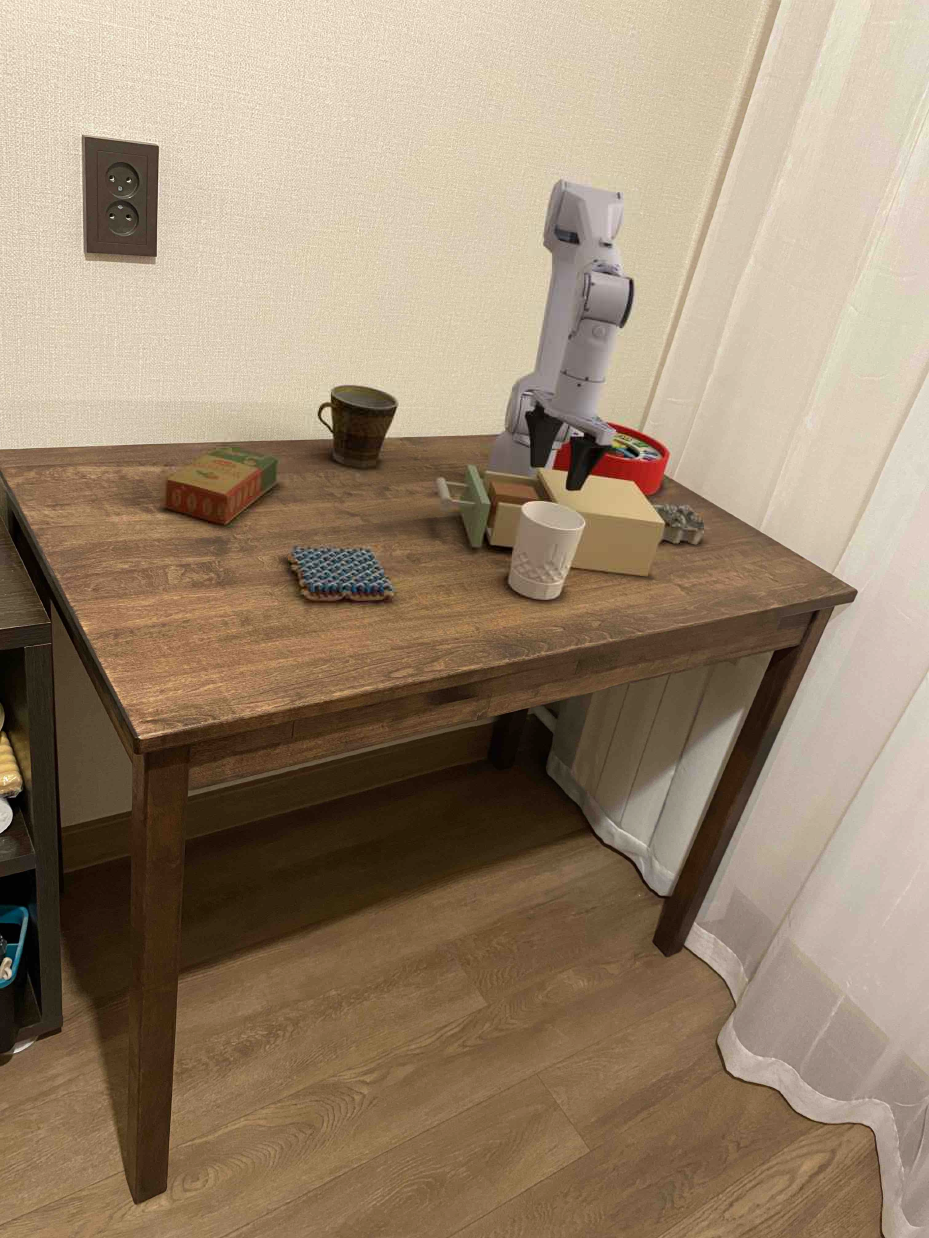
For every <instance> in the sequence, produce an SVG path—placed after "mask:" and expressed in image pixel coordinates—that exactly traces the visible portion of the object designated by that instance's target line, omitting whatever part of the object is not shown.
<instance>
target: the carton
mask: <svg viewBox="0 0 929 1238" xmlns="http://www.w3.org/2000/svg"><path fill="white" fill-rule="evenodd" d="M277 475H278V457H277V456H273V455H269V454H265V453H262V452H258V451H254V450H249V449H246V448H242V447H238V446H235V445H231V444H227V443H221V444H219V445H218V446H216V447H215V448H213V449H212V450H210V451H208V452H207V453H205V454H204V455H203V456H202V457H199V458H198V459H196V460H195V461H193V462H191V463H190V464H189V465H187V466H185V467H184V468H182V469H180V470H179V471H178V472H176V473H174V474H173V475H171V476H170V477H168V478H166V481H165V492H164V493H165V495H164V506H163V507H164V509H168V510H171V511H174V512H178V513H182V514H185V515H187V516H188V515H189V516H192V517H195V518H198V519H201V520H205V521H209V522H212V523H216V524H220V525H227V524H228V523H229V522H231V521H232V520H233V519H235V518H236V516H238V515H239V514H241V513H242V512H243V511H244V510H246V508H248V507H249V506H250V505H252V504H253V503H254V502H255V501H257V500H258V499H259V498H260V497H261V496H263V495H264V494H265V493H267V492H268V491H269V490H271V489H272V488H274V487H275V486H276V485H277Z"/></svg>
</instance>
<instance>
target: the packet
mask: <svg viewBox="0 0 929 1238" xmlns="http://www.w3.org/2000/svg"><path fill="white" fill-rule="evenodd" d="M487 496H488V498H489V501H490V503H491V505H490V510H489V514H488V518H487V522H486V523H487V525H488V527H489V528H492V527H493V523H494V519H495V514H496V510H497V506H498V502H501V503H509V504H516V505H524V504H525V503H527V502H531V501H539V498H538V496H537V494H536V492H535V490H534V488H533V487H531V486H524V485H517V484H510V483H503V482H496V481H491V482H490V486H489V491H488V494H487Z"/></svg>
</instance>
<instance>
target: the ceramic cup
mask: <svg viewBox="0 0 929 1238" xmlns="http://www.w3.org/2000/svg"><path fill="white" fill-rule="evenodd" d="M398 406H399V400H398V399H397V398H396V397H395V396H393V395H392V394H390V393H388V392H385V391H383V390H380V389H378V388H373V387H369V386H365V385H354V384H343V385H341V384H340V385H337V386H334V387H332V388H331V389H330V401H325V402H323V403H321V404H320V405H319V408H318V410H317V418H318V420H319V421H320V423H321V424H322V425H324V426H325V427H326V428H327V429H328V431H329V432H330V434H332V450H333V451H332V457H333V460H335V461H336V462H338V463H340V464H341V465H343V466H347V467H352V468H356V469H365V468H373V467H375V466H376V464H377V461H378V458H379V456H380V453H381V450H382V446H383V444H384V441H385V439H386V436H387V433H388V431H389V429H390V427H391V425H392V423H393V420H394V417H395V416H396V413H397V409H398ZM326 408H330V413H331V424H332V427H331V426H330V425H329V423H328V422H326V421H325V420H324V419H323V418H322V412H323V410H325V409H326Z"/></svg>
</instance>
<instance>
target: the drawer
mask: <svg viewBox="0 0 929 1238" xmlns="http://www.w3.org/2000/svg"><path fill="white" fill-rule="evenodd" d="M465 468H466V469H465V473H464V478H463V482H462V483H460V482H453V481H446V479H445V478H444V477H438V478H436V479H435V482H434V484H435V487H436V490H437V494H438V497H439V501H440V504H441V507H443V508H445V509H448V508H451V507H452V506H455V507H458V509H459V512H460V516H461V518H462V522H463V525H464V527H465V531H466V533H467V537H468V539H469V543H470V546H471V547H472V548H480V549H481V547H482V542H483V539H484V534H485V535H486V538H487V540H488V543H489V545H491V546H498V547H499V546H500V547H506V548H507V547H508V548H513V547H514V543H515V536H516V532H517V527H518V522H519V517H520V513H521V508H522V506H523V505H516V504H509V503H501V502H498V506H497V510H496V514H495V519H494V523H493V527H492V528H489V527H488V525H487V523H486V522H487V518H488V514H489V510H490V505H491V503H490V501H489V498H488V496H487V494H488V491H489V486H490V482H491V481H496V482H503V483H510V484H517V485H524V486H531V487H533V488H534V490H535V492H536V494H537V496H538V498H539V501H545V502H551V503H553V501H552V500H551V498H550V496H549V494H548V492H547V490H546V489H545V487H544V485H543V483H542V481H541V479H540V478H533V477H526V476H519V475H512V474H505V473H498V472H491V471H487V470H484V473H483V478H481V477H480V476H481V475H480V474H479V472H478V469H477V466H476V465H472V464H466V467H465ZM482 479H483V482H482V481H481V480H482ZM449 488H450V489H452V488H453V489H457V490H458V489H459V490H461V491H460V495H459V499H452V498H451V494H450V492H449V491H450V490H449Z"/></svg>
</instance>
